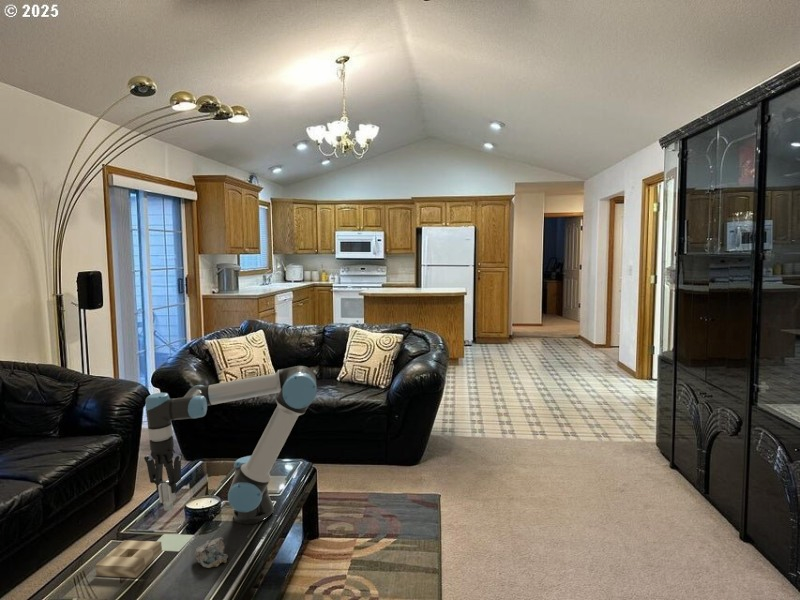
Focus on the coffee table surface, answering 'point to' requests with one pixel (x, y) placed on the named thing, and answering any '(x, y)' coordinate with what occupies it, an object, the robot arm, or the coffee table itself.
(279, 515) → the coffee table surface
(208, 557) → the mineral specimen
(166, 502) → the pin
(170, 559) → the coffee table surface
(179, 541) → the mat
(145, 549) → the hole block
